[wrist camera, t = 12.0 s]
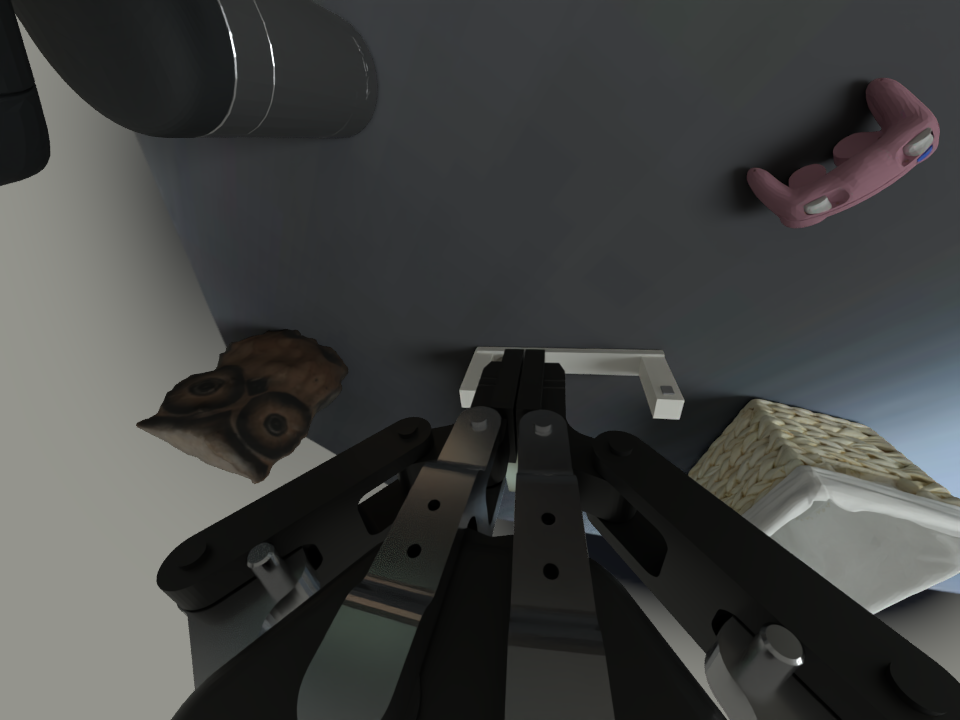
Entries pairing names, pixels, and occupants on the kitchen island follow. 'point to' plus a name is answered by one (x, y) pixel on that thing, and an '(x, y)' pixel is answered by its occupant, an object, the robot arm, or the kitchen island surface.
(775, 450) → the storage basket
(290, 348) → the owl
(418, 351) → the kitchen island surface
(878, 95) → the video game controller
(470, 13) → the kitchen island surface
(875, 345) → the kitchen island surface
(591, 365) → the gate posts
